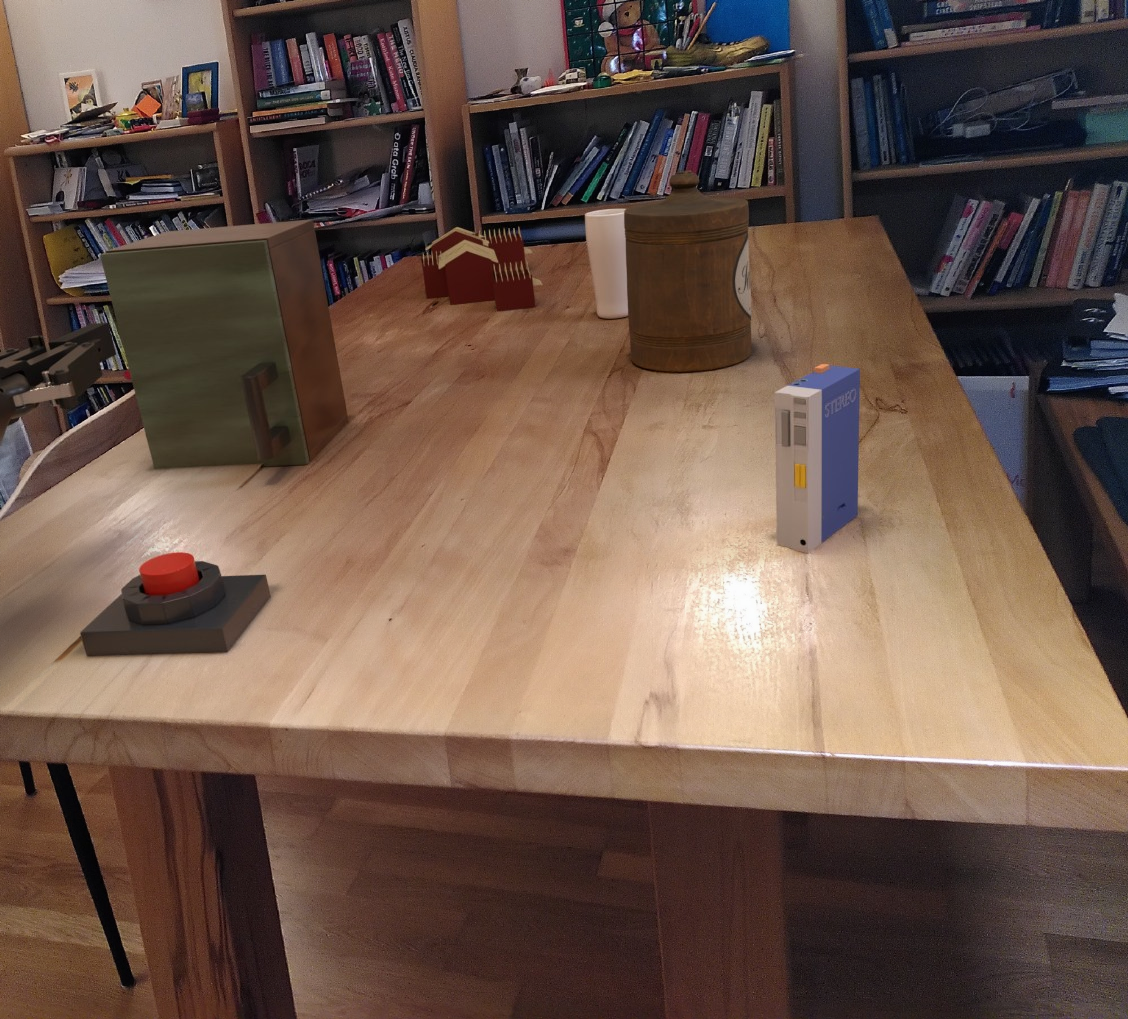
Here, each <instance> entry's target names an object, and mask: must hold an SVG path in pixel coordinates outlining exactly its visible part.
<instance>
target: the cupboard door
mask: <svg viewBox="0 0 1128 1019" xmlns="http://www.w3.org/2000/svg"><path fill="white" fill-rule="evenodd" d="M99 256H100V261H101V264H102V269H103V272H104V277H105V281H106V285H107V288H108V289H107V290H108V292H109V296H110V300H111V304H112V309H113V312H114V315H115V319H116V324H117V327H118V332H119V335H120V340H121V343H122V347H123V351H124V355H125V359H126V363H127V368H128V371H129V375H130V379H131V383H132V387H133V391H134V394H135V398H136V403H137V406H138V410H139V413H140V417H141V421H142V426H143V430H144V433H145V438H146V441H147V445H148V449H149V455H150V458H151V461H152V465H153V469H154V470H162V469H165V470H166V469H183V468H200V467H201V468H203V467H220V466H223V467H224V466H238V465H239V466H241V465H258V464H261V465H260V466H259V468H266V467H268V468H269V467H285V466H286V467H287V466H304V465H309V463H311V462H310V461H309V456H308V450H307V445H306V440H305V435H304V430H303V425H302V419H301V414H300V409H299V404H298V399H297V394H296V389H295V383H294V378H293V373H292V368H291V363H290V358H289V352H288V347H287V342H286V337H285V332H284V327H283V322H282V316H281V311H280V306H279V301H278V296H277V291H276V285H275V280H274V275H273V270H272V265H271V260H270V255H269V249H268V244H267V240H261V241H248V242H236V243H224V244H211V245H199V246H187V247H175V248H162V249H150V250H138V251H125V252H113V253H105V252H104V253H101V254H99Z"/></svg>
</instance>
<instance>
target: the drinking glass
mask: <svg viewBox="0 0 1128 1019" xmlns="http://www.w3.org/2000/svg"><path fill="white" fill-rule="evenodd" d="M626 209H627V208H607V209H599V210H598V209H597V210H593V211H589V212H586V213H584V230H585V241H586V242H585V243H586V249H587V256H588V261H589V267H590V274H591V280H592V287H593V294H594V298H595V308H596V316H598V317H599V318H601V319H605V320H616V319H622V318H626V317H628V300H627V271H626V241H625V240H626V238H625V228H624V211H625V210H626Z"/></svg>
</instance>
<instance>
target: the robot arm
mask: <svg viewBox="0 0 1128 1019" xmlns="http://www.w3.org/2000/svg"><path fill="white" fill-rule="evenodd" d="M111 332H112V331H111V328H110V324H109V322H97V323H96V322H95V323H89V324H88V325H85V326H83V327H80V328H78V329H76V330H74V331H72V332H69V333H67V334H65V335H63V336H60V337H58V338H55V339H52V340H51V341H48V342H47V344H48V346H47V347H46V343H45V339H44V336H43V335H33V336H29V337H27V338H26V339H27V343H28V346H29V347H28V348H26V349H24V350H20V349H19V348H14V347H11V348H7V349H6V350H3V351H0V446H1V445H2V442H3V440H4V438H5V434H6V431H7V428H8V427H9V426H12V425H14V424H16V423H17V422H18V421H19V420H20V419H21V418H22V417H23V416H27V415H29V414H31V413H33V411H34V410H35V409H36V408H38V407H39V406H40V403H42V402H47V401H48V402H49V404H50V407H59V409H62V410H71V409H73V408H75V407H77V406H79V401H78V398H80V397H81V396H82V395H83V394H84V393H85V392H86V391H87V390H88V389H89V388H90V387H91V386H92V385H94V384H95V383H96V382H97V381H98V380H99V379H100V378H101V377H102V376H104V375H103V370H102V367H101V363H103V362H104V361H105V362H106V361H107V360H108V359H111V358H112V357H114V356H116V355H117V351H116V347H115V343H114V339H113V336H112V333H111Z"/></svg>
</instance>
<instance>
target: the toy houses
mask: <svg viewBox="0 0 1128 1019" xmlns="http://www.w3.org/2000/svg"><path fill="white" fill-rule="evenodd" d="M506 230H507V228H503V230H500V229H498V234H497V235H496V230H495V229H493V235H491V229H488V236H487V235H486V231H485V230H484V232H483V233H484V234H483V235H482V234H481V231H480V230H479V233H478V232H475V231H471V230H468V229H465V228H462V227H459V226H456V227H454V228H452V229H451V230H449V231H448V232H446V233H445V234H443V235H442V236H439V237H438V238H437V239H435V240H433V241H432V242H431V244H429V245H427V246H426V247H425V251H428V250H429V249H431V257H430V253H429V252H426V253H425V252H424V253H422V255H420V259H421V261H420V262H421V267H422V268H421V269H422V274H423V282H424V283H423V284H424V287H425V288H424V289H425V296H426V300H427V299H428V300H429V299H436V298H444V297H448V299H449V300H448V301H449V305H450V306H454V305H460V304H461V305H462V304H472V303H479V302H489V301H494V304H495V307H496V311H497V312H503V311H514V310H522V309H530V308H536V300H535V299H536V298H535V290H534V286H543V285H544V284H543V283H542V281H541V280H540V279H539V278H536V277H533V274H531V270H530V265H529V261H528V260H526V256H525V254H533V250H532V249H530V248H527V247H525V245H524V237H523V236H522V231H521V229H520V226H518V229H517V231H518V232H517V233H516V231H515V229H513V230H512V232H513V233H511V232H510V231H511V230H510V229H508V233H506ZM424 254H426V255H427V258H425V255H424Z"/></svg>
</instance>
